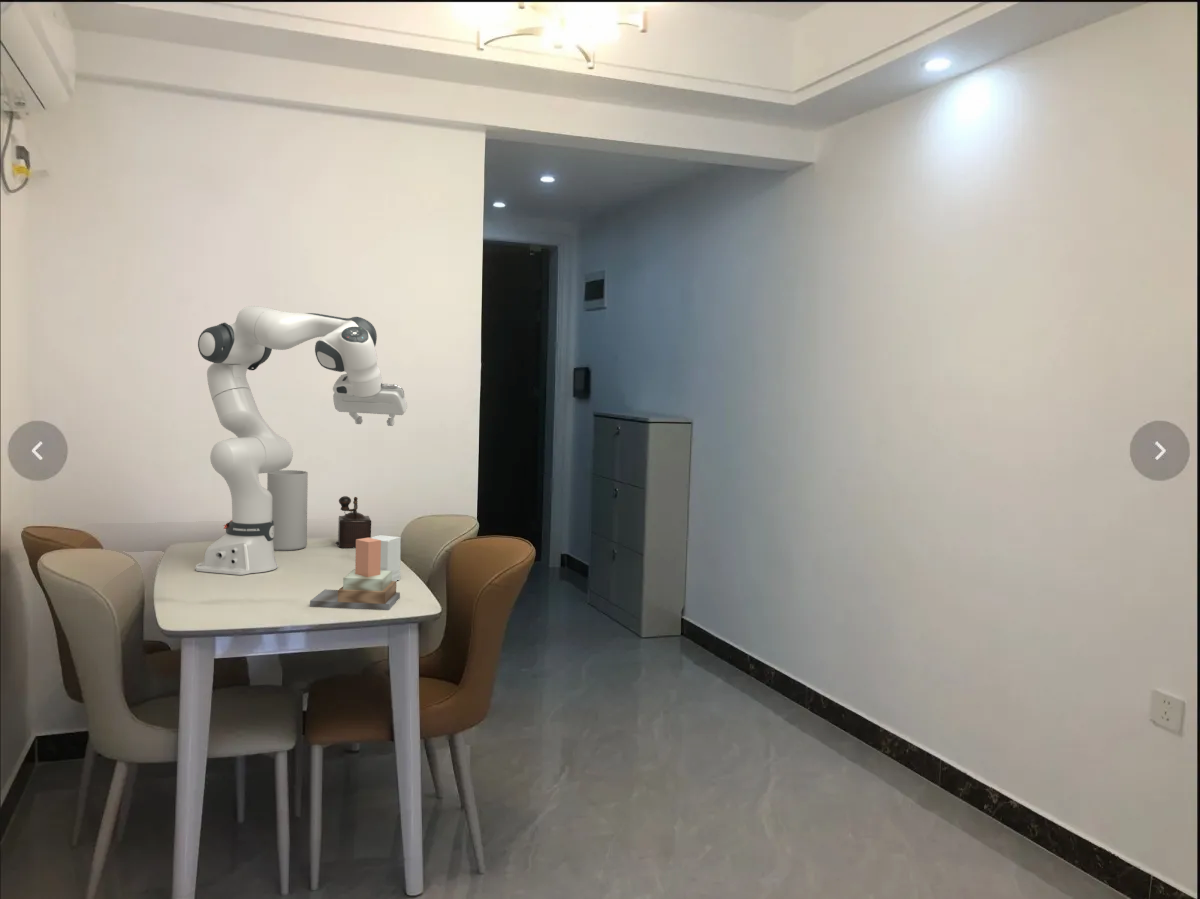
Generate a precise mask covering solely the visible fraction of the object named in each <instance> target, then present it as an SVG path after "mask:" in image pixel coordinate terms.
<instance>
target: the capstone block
mask: <svg viewBox="0 0 1200 899" xmlns="http://www.w3.org/2000/svg"><path fill="white" fill-rule="evenodd" d="M380 565H381V540H377V539H373V538H362V539H356V548H355V565H354V566H355V567H354V568H355V574H358V575H362V576H366V577H371V576H376V575H380Z"/></svg>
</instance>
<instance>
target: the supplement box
mask: <svg viewBox="0 0 1200 899" xmlns="http://www.w3.org/2000/svg"><path fill="white" fill-rule="evenodd" d="M371 538H373V539H377V540H381V565H380V570H384V571H392V581H396V582H398V581H397V580H399V579H400V580H401V552H402V551H401V542H402V541H401V540H402V539H401V538H402V537H400V536H392V535H383V534H379V535H375V536H372V537H371ZM400 580H399V581H400Z"/></svg>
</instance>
